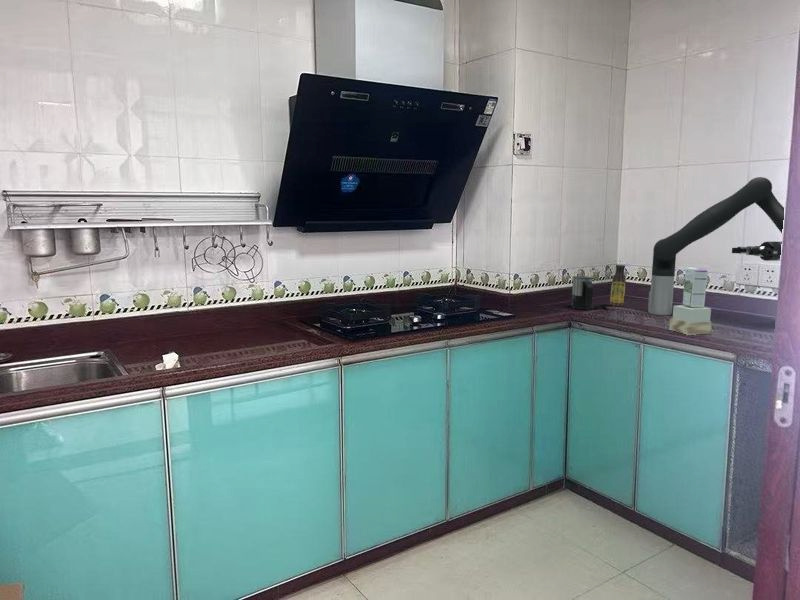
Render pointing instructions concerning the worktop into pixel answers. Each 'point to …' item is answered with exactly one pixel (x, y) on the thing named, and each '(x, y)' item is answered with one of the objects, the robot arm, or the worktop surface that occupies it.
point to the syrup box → (695, 287)
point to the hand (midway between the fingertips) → (741, 251)
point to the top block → (691, 314)
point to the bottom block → (690, 327)
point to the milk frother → (583, 293)
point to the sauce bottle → (618, 286)
